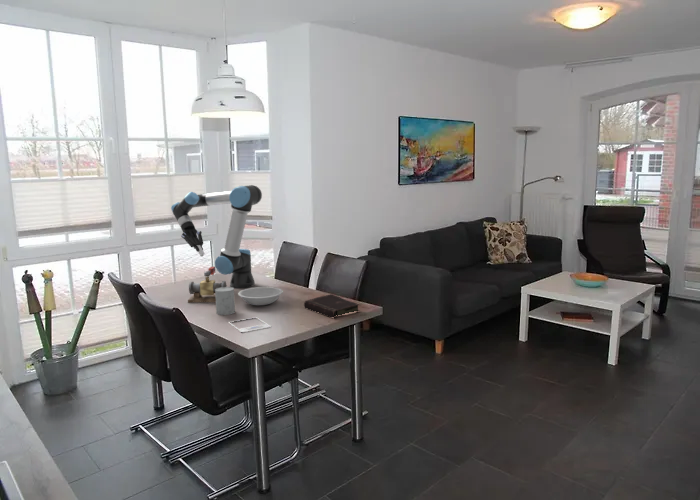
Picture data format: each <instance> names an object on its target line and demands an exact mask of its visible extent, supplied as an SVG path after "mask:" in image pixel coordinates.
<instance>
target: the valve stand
mask: <svg viewBox="0 0 700 500" xmlns="http://www.w3.org/2000/svg"><path fill="white" fill-rule="evenodd" d="M204 277H205V280H201V281H200V282H197V283H196V282H194V281H190V282H189V284H188V293H189V295H191V296H190V297H189V298H188V299H187V303H188V304H189V303H216V296H215V289H216V288H220V287H227V283H226V281H225V280H223V281H222V282H216V280H215V279H214V280H212V279H211V280H210V276H204Z"/></svg>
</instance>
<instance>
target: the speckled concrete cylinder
mask: <svg viewBox="0 0 700 500" xmlns="http://www.w3.org/2000/svg"><path fill="white" fill-rule="evenodd" d="M214 295H215V296H216V302H215V312H216V314H217V315H219V316H229V315H231V314H235V312H236V305H235V304H236V303H235V288H234V287H231V286H226V287H220V288H216V289H215V294H214Z"/></svg>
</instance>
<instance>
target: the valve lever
mask: <svg viewBox="0 0 700 500" xmlns="http://www.w3.org/2000/svg"><path fill="white" fill-rule="evenodd" d="M215 273H216V267H215V266H210V267H209V268H208V270H207V271H204V272H203V274H204V275H203V276H204V277H210V276H214V274H215Z"/></svg>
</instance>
